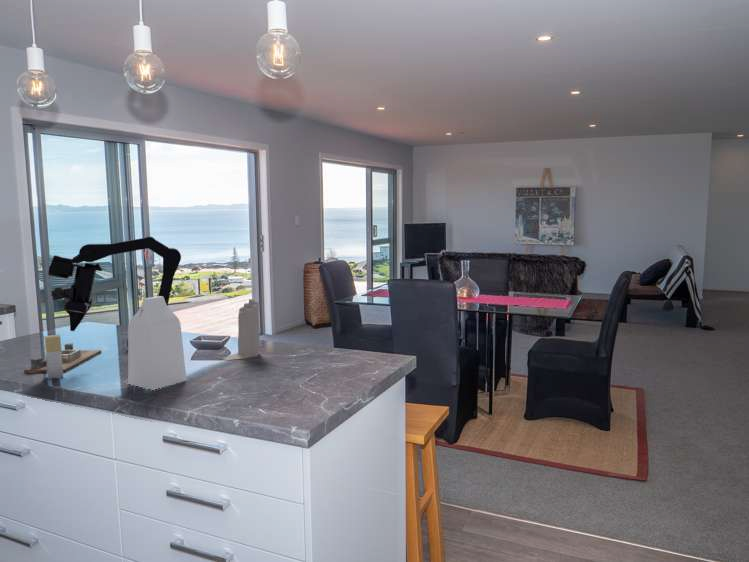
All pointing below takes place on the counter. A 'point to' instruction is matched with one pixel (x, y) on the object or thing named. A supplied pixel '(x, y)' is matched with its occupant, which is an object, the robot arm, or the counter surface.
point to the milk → (155, 346)
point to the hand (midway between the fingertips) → (74, 328)
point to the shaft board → (63, 359)
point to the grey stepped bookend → (247, 332)
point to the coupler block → (53, 356)
